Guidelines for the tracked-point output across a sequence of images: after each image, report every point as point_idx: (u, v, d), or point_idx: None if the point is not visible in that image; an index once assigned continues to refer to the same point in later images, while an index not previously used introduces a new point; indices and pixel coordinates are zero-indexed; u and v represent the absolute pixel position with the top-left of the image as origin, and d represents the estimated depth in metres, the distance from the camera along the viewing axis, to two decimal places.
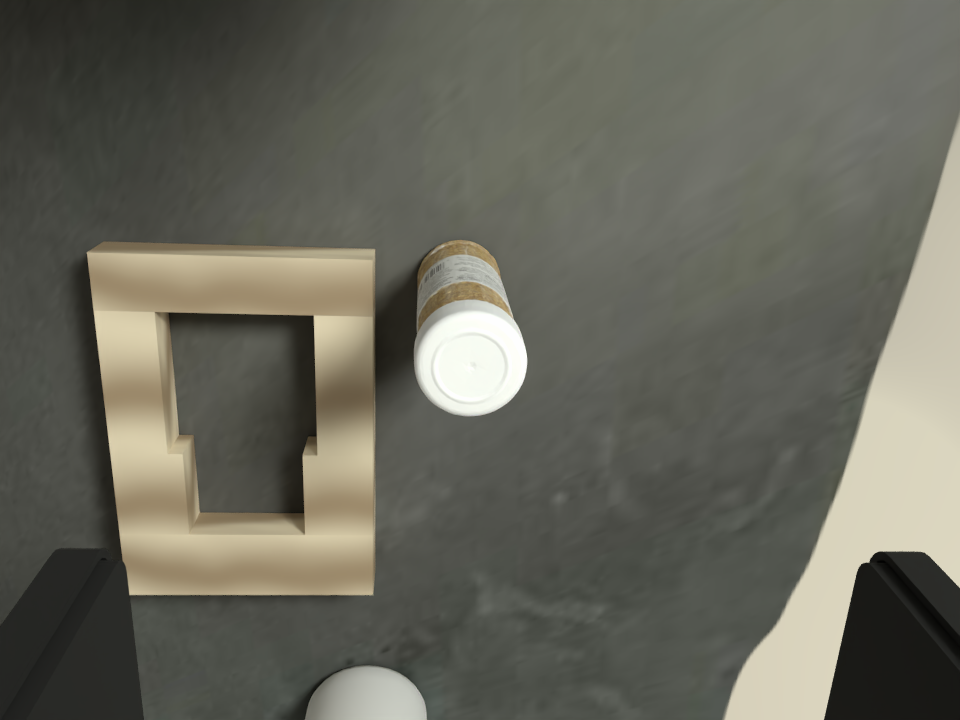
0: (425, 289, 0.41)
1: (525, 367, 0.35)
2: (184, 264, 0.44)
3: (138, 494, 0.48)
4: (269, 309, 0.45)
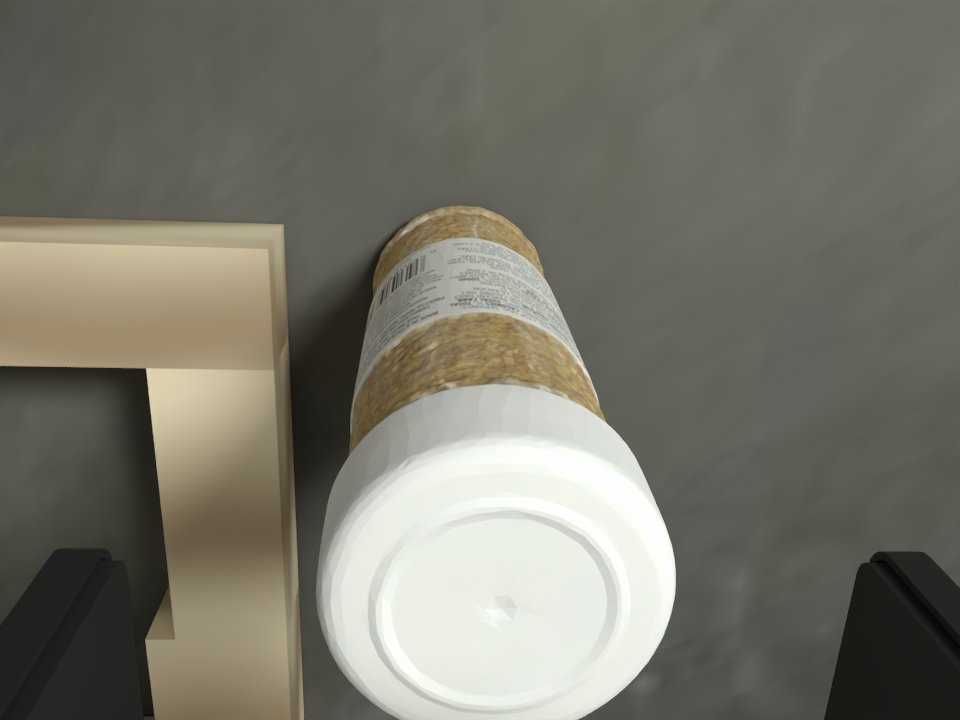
0: (377, 324, 0.17)
1: (671, 605, 0.11)
2: None
3: None
4: (48, 355, 0.21)
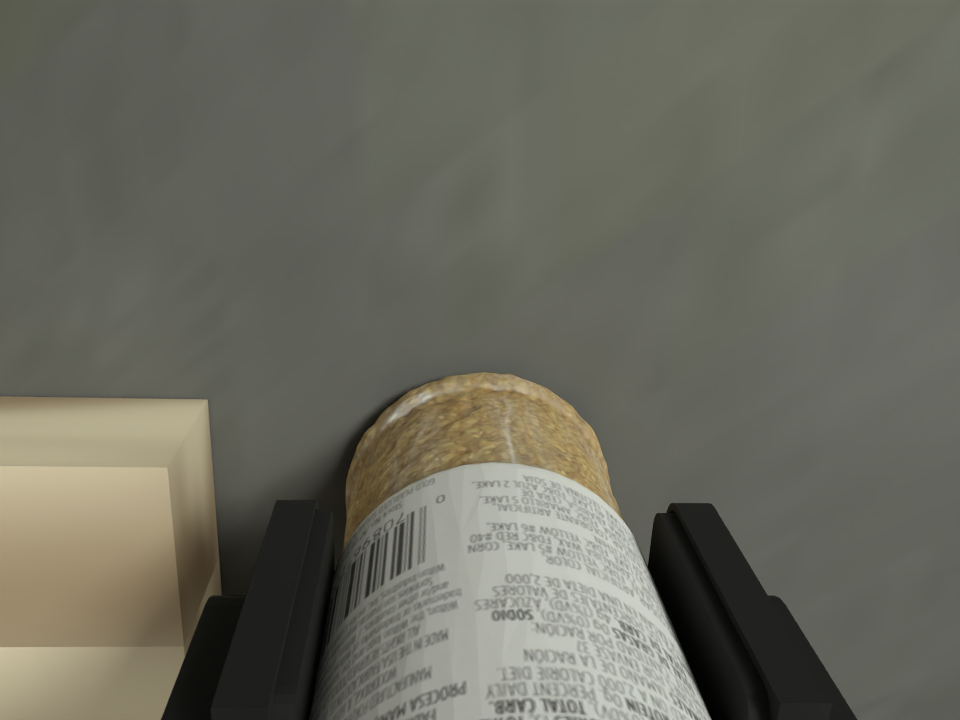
0: (334, 687, 0.09)
1: None
2: None
3: None
4: None
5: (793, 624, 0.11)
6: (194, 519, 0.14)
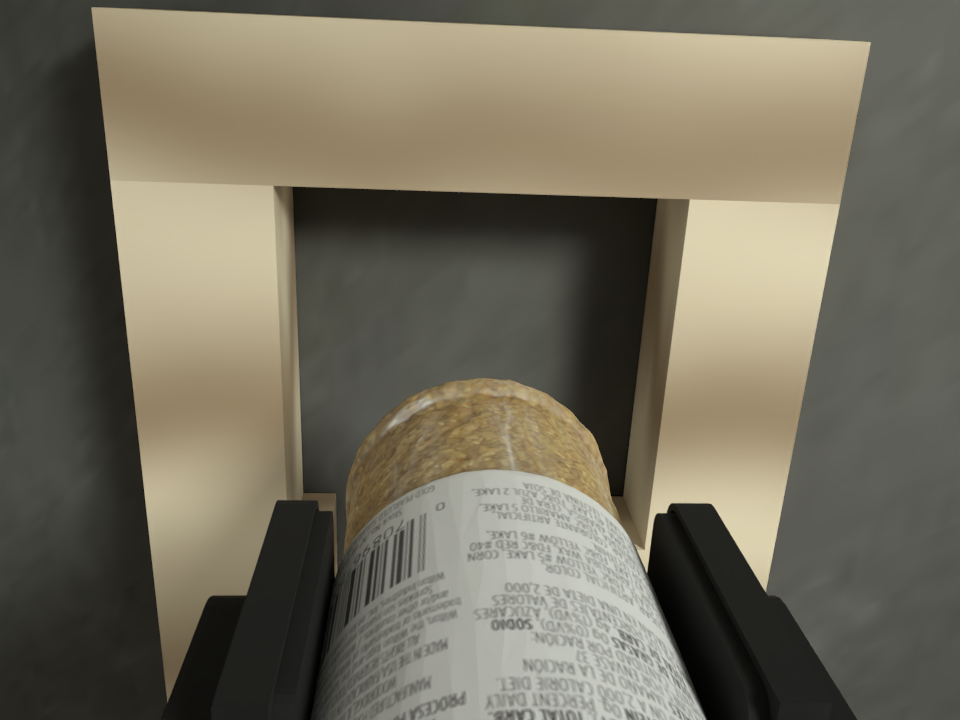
0: (334, 696, 0.09)
1: None
2: (361, 48, 0.16)
3: None
4: (578, 181, 0.17)
5: (793, 624, 0.11)
6: None
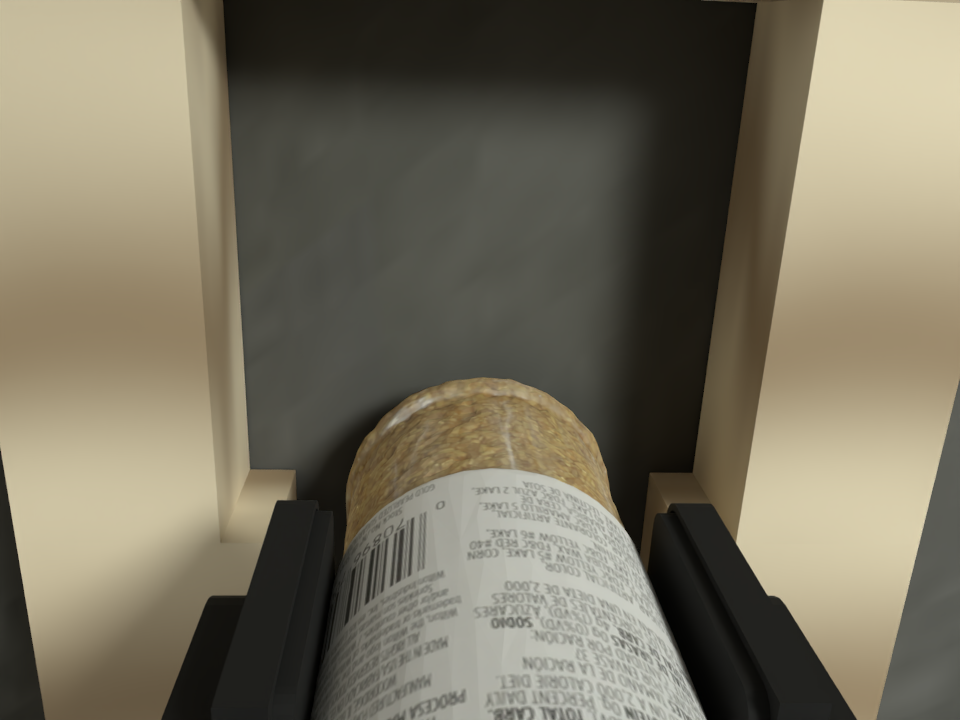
0: (334, 694, 0.09)
1: None
2: None
3: (119, 677, 0.14)
4: None
5: (793, 624, 0.11)
6: None
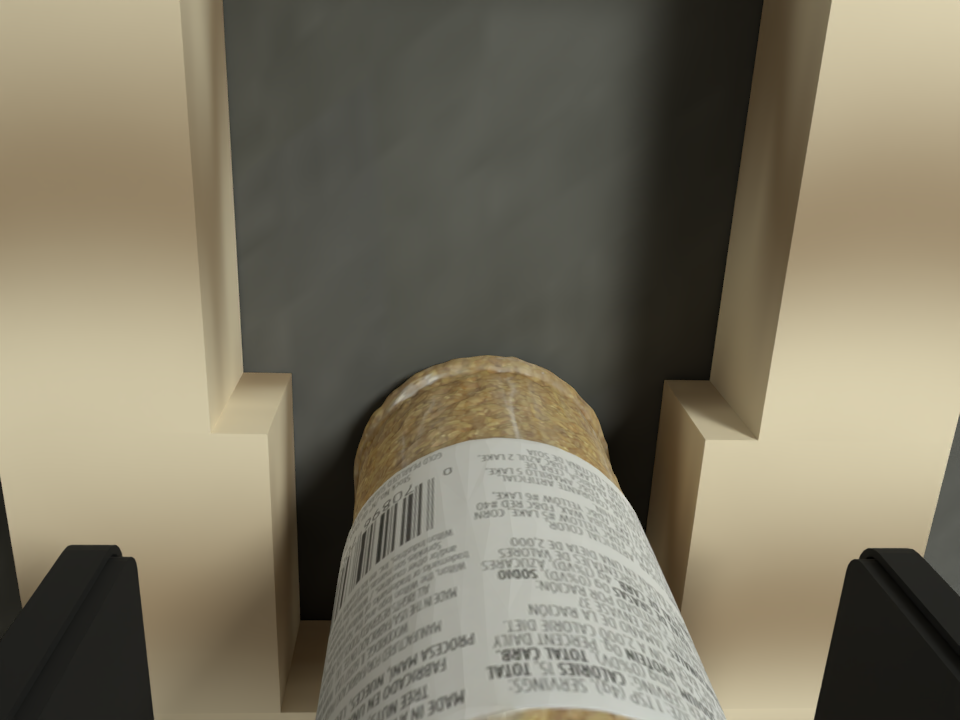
0: (348, 645, 0.09)
1: None
2: None
3: None
4: None
5: None
6: None
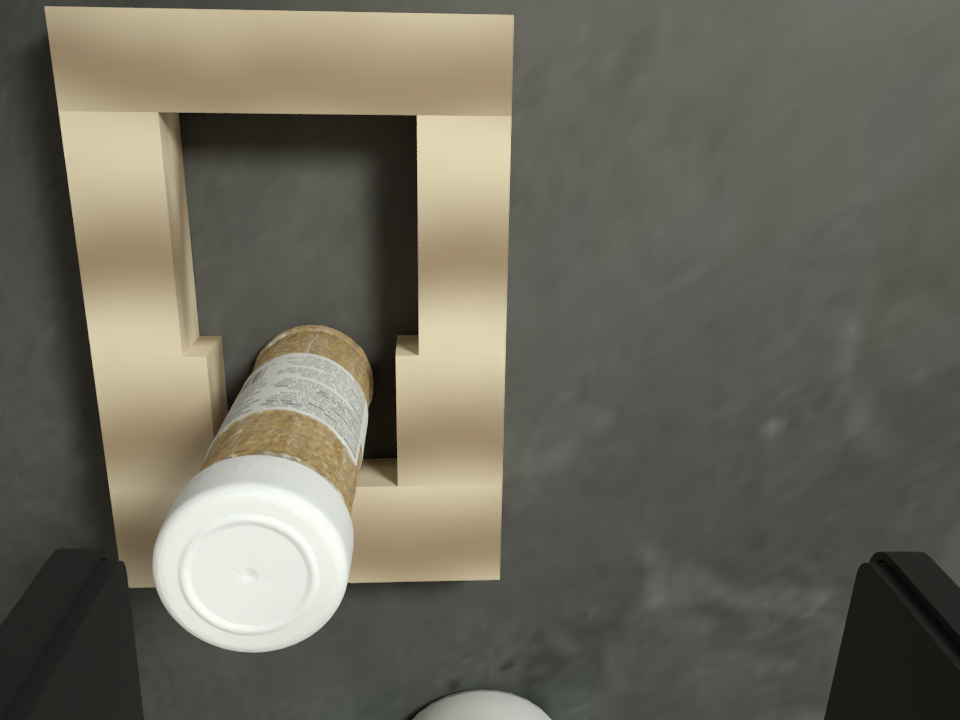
0: (227, 415, 0.26)
1: (344, 571, 0.21)
2: (206, 26, 0.27)
3: (137, 425, 0.31)
4: (346, 105, 0.28)
5: None
6: None
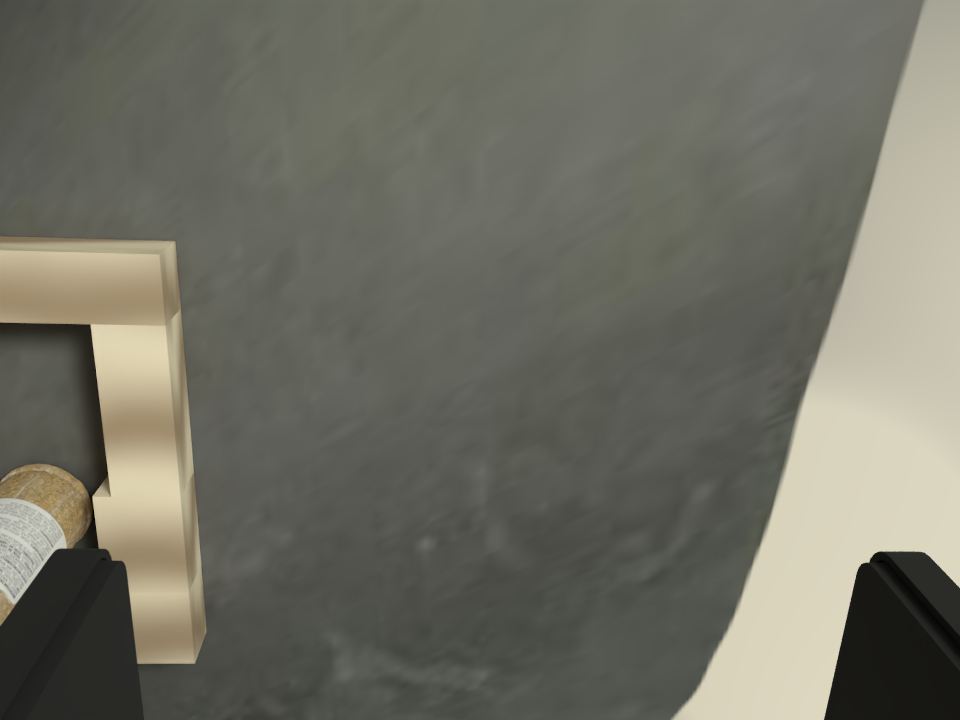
0: None
1: None
2: None
3: None
4: (34, 316, 0.36)
5: None
6: (169, 282, 0.37)
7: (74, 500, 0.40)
